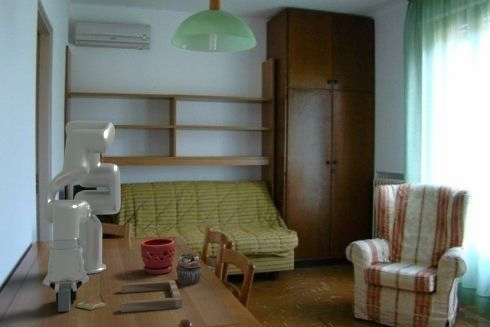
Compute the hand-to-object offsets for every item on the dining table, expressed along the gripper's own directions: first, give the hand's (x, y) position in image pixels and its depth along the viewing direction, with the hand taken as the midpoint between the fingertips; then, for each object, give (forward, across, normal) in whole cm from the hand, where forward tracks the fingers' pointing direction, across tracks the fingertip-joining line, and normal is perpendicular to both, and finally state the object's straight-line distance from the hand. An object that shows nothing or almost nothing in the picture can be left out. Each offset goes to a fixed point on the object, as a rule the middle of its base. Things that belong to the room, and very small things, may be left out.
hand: (66, 302), depth 135 cm
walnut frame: (+1, -24, 0) cm, 24 cm away
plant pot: (+1, -30, -32) cm, 44 cm away
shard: (+2, -7, 0) cm, 7 cm away
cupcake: (+1, -40, -16) cm, 43 cm away
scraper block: (0, 0, 0) cm, 1 cm away
